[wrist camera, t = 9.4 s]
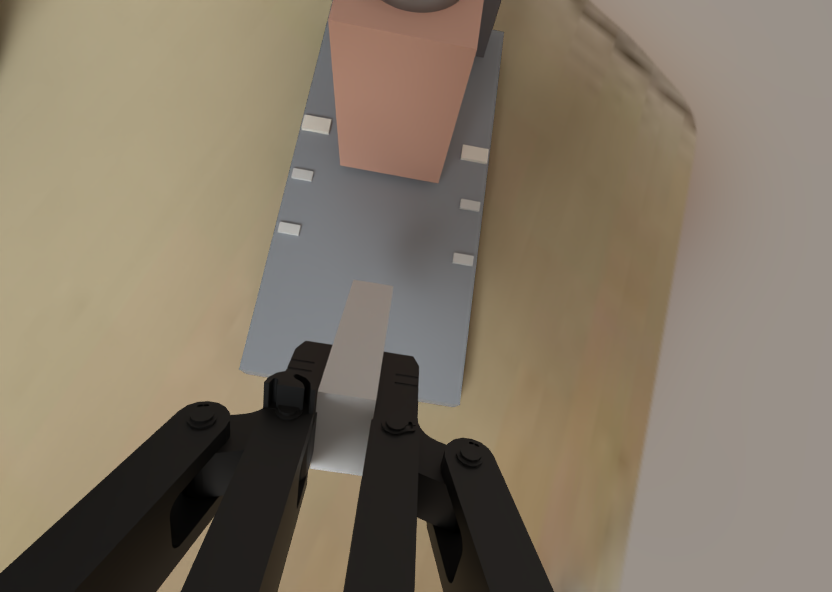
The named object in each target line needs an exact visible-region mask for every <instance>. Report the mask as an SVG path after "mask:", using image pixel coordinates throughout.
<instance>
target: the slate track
mask: <svg viewBox="0 0 832 592" xmlns="http://www.w3.org/2000/svg"><path fill="white" fill-rule="evenodd" d="M332 3H333V1H332ZM500 3H501V0H484V2H483V9H482V17H481V24H480V31H479V38H478V46H477V51H476V55H475V58H474V62H473V65H472V68H471V72H470V75H469V79H468V82H467V86H466V89H465V93H464V96H463V100H462V103H461V107H460V110H459V114H458V117H457V121H456V124H455V128H454V131H453V134H452V138H451V141H450V145H449V148H448V152H447V155H446V159H445V162H444V166H443V169H442V173H441V176H440V180H439V183H433V182H428V181H422V180H417V179H412V178H406V177H401V176H395V175H390V174H384V173H379V172H374V171H368V170H363V169H357V168H352V167H346V166H341V165H340V156H339V144H338V132H337V120H336V108H335V96H334V84H333V72H332V60H331V48H330V36H329V24H328V21H327V24H326V28H325V32H324V36H323V40H322V44H321V48H320V52H319V56H318V60H317V64H316V68H315V72H314V76H313V80H312V84H311V88H310V92H309V95H308V99H307V103H306V107H305V111H304V115H303V119H302V123H301V127H300V131H299V135H298V139H297V143H296V147H295V151H294V155H293V159H292V163H291V166H290V170H289V174H288V178H287V182H286V186H285V190H284V194H283V198H282V202H281V206H280V210H279V214H278V218H277V222H276V226H275V230H274V234H273V238H272V241H271V245H270V249H269V253H268V257H267V261H266V265H265V269H264V273H263V277H262V281H261V285H260V289H259V293H258V297H257V301H256V305H255V309H254V312H253V316H252V320H251V324H250V328H249V332H248V336H247V340H246V344H245V348H244V352H243V356H242V360H241V364H240V368H239V370H241V371H243V372H244V373H246V374H250V375H256V376H263V377H269V376H271V375H273V374H275V373H277V372H282V371H286V369H287V367H288V364H289V362H290V361H291V357H292V355H293V353H294V351H295V348H297V347H298V346H299V345H301V344H302V343H303V342H304V341H312V342H318V343H325V344H331V345H333V342H334V339H335V336H336V333H337V330H338V327H339V323H340V320H341V317H342V314H343V311H344V308H345V305H346V301H347V298H348V295H349V292H350V289H351V286H352V283H353V280H359V281H365V282H371V283H378V284H384V285H390V286H393V293H392V299H391V306H390V313H389V319H388V326H387V332H386V339H385V346H384V352H389V353H396V354H402V355H408V356H414V358H415V360H416V362H417V363H418V365H419V386H418V388H419V389H418V401H419V402H425V403H431V404H437V405H444V406H450V407H456V406H458V405H460V397H461V389H462V381H463V372H464V364H465V355H466V347H467V339H468V330H469V322H470V314H471V305H472V297H473V288H474V280H475V272H476V263H477V255H478V247H479V238H480V230H481V221H482V213H483V205H484V196H485V188H486V180H487V171H488V163H489V154H490V146H491V138H492V129H493V121H494V112H495V104H496V96H497V87H498V79H499V71H500V62H501V54H502V45H503V37H504V32H502V31H497V30H492V29H493V25H494V22H495V19H496V16H497V13H498V9H499V6H500ZM331 7H332V5H331ZM330 11H331V9H330ZM329 14H330V13H329ZM328 18H329V17H328Z"/></svg>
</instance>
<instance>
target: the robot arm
mask: <svg viewBox="0 0 832 592" xmlns="http://www.w3.org/2000/svg"><path fill="white" fill-rule="evenodd" d="M392 293H393V286H390V285H384V284H378V283H371V282H365V281H359V280H353V283H352V286H351V289H350V292H349V295H348V298H347V301H346V305H345V308H344V311H343V314H342V317H341V320H340V323H339V327H338V330H337V333H336V336H335V339H334V342H333V345H331V344H325V343H318V342H312V341H304V342H303V343H302V344H301V345H299V346H298V347H297V348H295V351H294V353H293V355H292V357H291V361H290V362H289V364H288V367H287V369H286V371H282V372H277V373H275V374H273V375H271V376H269V377H268V378H267V380H266V381H265V382H264V402H263V409H261V410H259V411H256V412H253V413H247V414H238V415H230V413H229V411H228V410H227V408H226V407H225V406H223V405H221V404H219V403H215V402H210V401H205V402H196V403H193V404H190V405H187V406H186V407H184V408H183V409H181V410H179V411H178V412H177V413H176V414H175V415H174V416H173V417H172V418H171V419H169V420H168V421H167V422H166V423H165V424H164V425H163V426H162V427H161V428H160V429H158V430H157V431H156V432H155V433H154V434H153V435H152V436H151V437H150V438H149V439H147V440H146V441H145V442H144V443H143V444H142V445H141V446H140V447H139V448H138V449H136V450H135V451H134V452H133V453H132V454H131V455H130V456H129V457H128V458H127V459H125V460H124V461H123V462H122V463H121V464H120V465H119V466H118V467H117V468H116V469H114V470H113V471H112V472H111V473H110V474H109V475H108V476H107V477H106V478H105V479H103V480H102V481H101V482H100V483H99V484H98V485H97V486H96V487H95V488H94V489H92V490H91V491H90V492H89V493H88V494H87V495H86V496H85V497H84V498H83V499H81V500H80V501H79V502H78V503H77V504H76V505H75V506H74V507H73V508H72V509H70V510H69V511H68V512H67V513H66V514H65V515H64V516H63V517H62V518H61V519H59V520H58V521H57V522H56V523H55V524H54V525H53V526H52V527H51V528H50V529H49V530H47V531H46V532H45V533H44V534H43V535H42V536H41V537H40V538H39V539H38V540H36V541H35V542H34V543H33V544H32V545H31V546H30V547H29V548H28V549H27V550H25V551H24V552H23V553H22V554H21V555H20V556H19V557H18V558H17V559H16V560H14V561H13V562H12V563H11V564H10V565H9V566H8V567H7V568H6V569H5V570H3V571H2V572H1V573H0V592H156V591H157V590H158V589H159V587H160V586H161V585H162V584H163V582H164V581H165V580H166V578H167V577H168V576H169V574H170V573H171V572H172V571H173V569H174V568H175V567H176V565H177V564H178V563H179V561H180V560H181V559H182V558H183V556H184V555H185V554H186V552H187V551H188V550H189V548H190V547H191V546H192V544H193V543H194V542H195V541H196V539H197V538H198V537H199V535H200V534H201V533H202V531H203V530H204V529H205V528H206V526H207V525H208V524H209V522H210V521H211V520H212V518H213V517H214V519H213V521H212V523H211V525H210V527H209V530H208V532H207V534H206V536H205V539H204V541H203V543H202V545H201V548H200V550H199V552H198V554H197V556H196V559H195V561H194V563H193V565H192V568H191V570H190V572H189V574H188V577H187V579H186V581H185V583H184V586H183V588H182V590H181V592H277V591H278V587H279V584H280V580H281V576H282V573H283V569H284V566H285V562H286V558H287V555H288V551H289V547H290V544H291V540H292V536H293V533H294V529H295V525H296V522H297V518H298V514H299V511H300V507H301V504H302V500H303V496H304V493H305V489H306V485H307V476H308V469H309V466H310V462H311V466H310V468H311V469H318V470H325V471H332V472H339V473H346V474H353V475H360V476H362V480H361V486H360V492H359V498H358V504H357V510H356V517H355V523H354V529H353V535H352V541H351V548H350V554H349V560H348V566H347V572H346V579H345V585H344V591H343V592H414V588H415V558H416V528H417V517H418V518H420V519H422V520H424V521H426V522H427V529H428V533H429V537H430V541H431V545H432V549H433V553H434V557H435V561H436V565H437V569H438V573H439V577H440V581H441V585H442V588H443V592H554V591H553V588H552V586H551V584H550V582H549V579H548V577H547V575H546V573H545V570H544V568H543V566H542V564H541V561H540V559H539V557H538V555H537V552H536V550H535V548H534V546H533V543H532V541H531V539H530V537H529V534H528V532H527V530H526V528H525V525H524V523H523V521H522V519H521V516H520V514H519V512H518V510H517V507H516V505H515V503H514V501H513V498H512V496H511V494H510V492H509V489H508V487H507V485H506V483H505V480H504V478H503V476H502V474H501V471H500V469H499V467H498V465H497V462H496V460H495V458H494V456H493V454H492V453H491V451H490V450H489V448H487V447H486V446H485V445H483V444H482V443H480V442H478V441H475V440H473V439H468V438H459V439H454V440H453V441H451V442H450V443H448V444H447V445H445V444H443V443H440V442H438V441H436V440H434V439H432V438H430V437H429V436H428V435H426V434H425V433H424V432H423V430H422V429H421V428H420V426H419V424H418V418H417V417H418V389H419V388H418V386H419V365H418V363H417V362H416V360H415V358H414V356H408V355H402V354H396V353H389V352H384V346H385V339H386V332H387V326H388V319H389V313H390V306H391V299H392Z"/></svg>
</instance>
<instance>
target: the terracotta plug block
mask: <svg viewBox="0 0 832 592" xmlns="http://www.w3.org/2000/svg"><path fill="white" fill-rule="evenodd" d="M483 2H484V0H333V3H332V7H331V11H330V14H329V18H328V24H329V36H330V48H331V60H332V72H333V84H334V96H335V108H336V120H337V132H338V144H339V156H340V165H341V166H346V167H352V168H357V169H363V170H368V171H374V172H379V173H384V174H390V175H395V176H401V177H406V178H412V179H417V180H422V181H428V182H433V183H439V180H440V176H441V173H442V169H443V166H444V162H445V159H446V155H447V152H448V148H449V145H450V141H451V138H452V134H453V131H454V128H455V124H456V121H457V117H458V114H459V110H460V107H461V103H462V100H463V96H464V93H465V89H466V86H467V82H468V79H469V75H470V72H471V68H472V65H473V62H474V58H475V55H476V51H477V46H478V38H479V31H480V24H481V17H482V9H483Z"/></svg>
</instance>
